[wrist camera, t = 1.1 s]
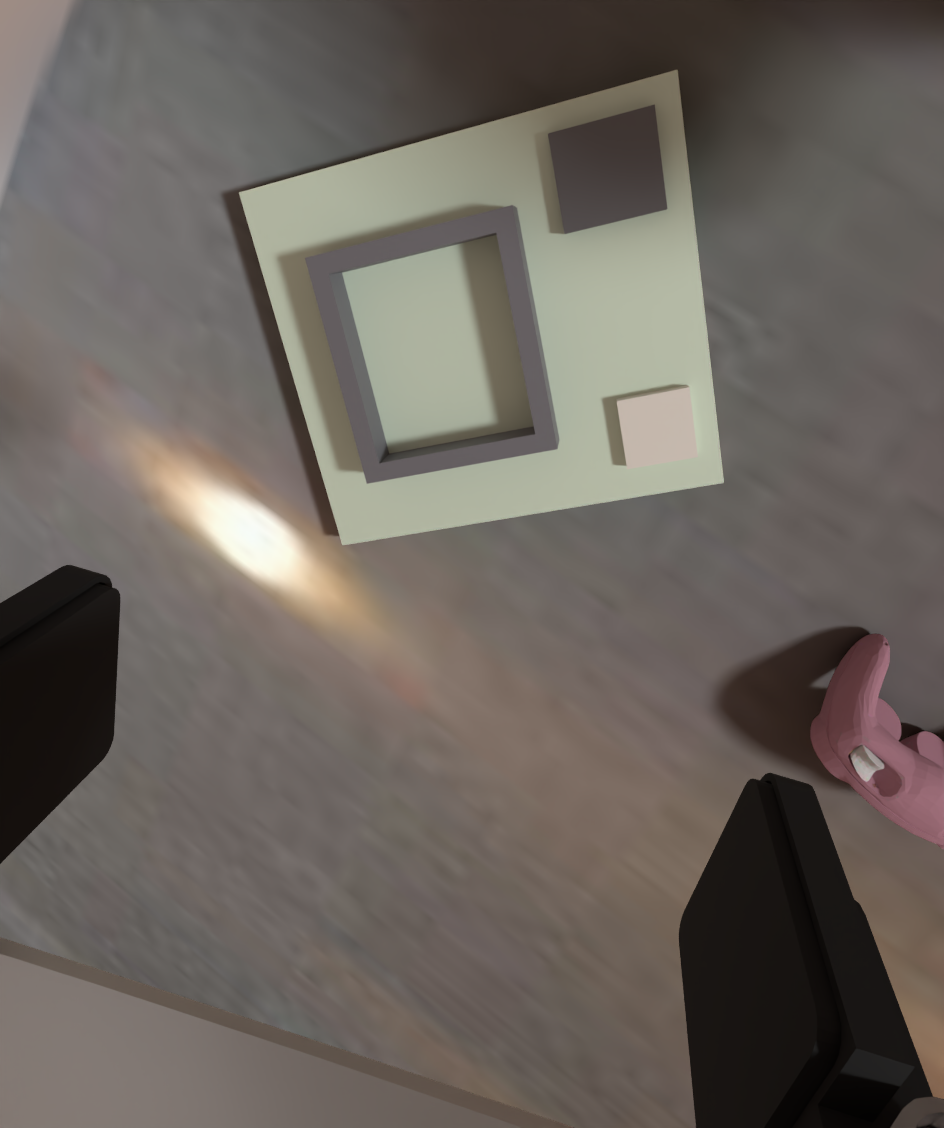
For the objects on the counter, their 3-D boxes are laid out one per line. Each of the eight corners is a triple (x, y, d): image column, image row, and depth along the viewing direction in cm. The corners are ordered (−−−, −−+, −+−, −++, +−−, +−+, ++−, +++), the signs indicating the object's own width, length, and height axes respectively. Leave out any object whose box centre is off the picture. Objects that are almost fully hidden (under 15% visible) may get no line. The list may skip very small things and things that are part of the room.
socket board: (674, 76, 30) (682, 58, 27) (719, 475, 35) (730, 494, 32) (250, 194, 34) (219, 189, 31) (349, 536, 39) (330, 558, 36)
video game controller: (803, 659, 39) (787, 775, 35) (874, 618, 36) (868, 741, 31) (955, 760, 40) (959, 886, 36) (1040, 730, 37) (1056, 866, 32)
